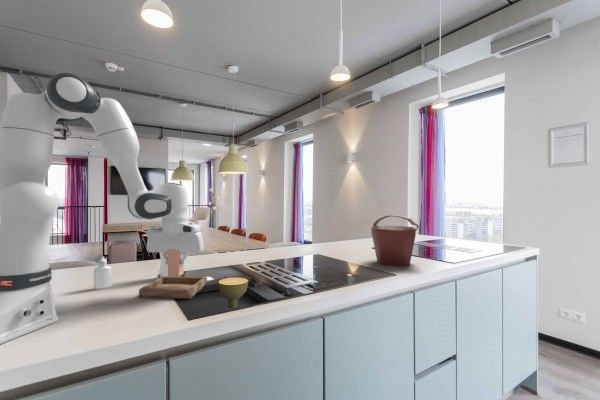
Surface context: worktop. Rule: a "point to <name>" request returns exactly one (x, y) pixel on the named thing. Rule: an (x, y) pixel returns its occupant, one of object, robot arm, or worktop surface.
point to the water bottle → (163, 267)
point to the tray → (173, 287)
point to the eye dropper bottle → (102, 275)
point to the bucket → (394, 243)
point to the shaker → (175, 263)
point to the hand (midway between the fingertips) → (175, 264)
